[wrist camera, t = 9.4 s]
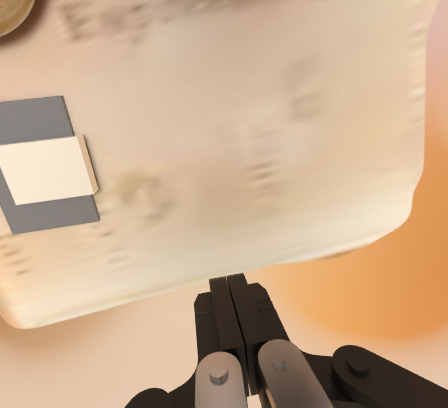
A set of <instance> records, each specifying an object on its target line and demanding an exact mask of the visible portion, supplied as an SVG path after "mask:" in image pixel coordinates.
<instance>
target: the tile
mask: <svg viewBox="0 0 448 408" xmlns="http://www.w3.org/2000/svg"><path fill="white" fill-rule="evenodd" d="M0 168H1V170H2V173H3V175H4V177H5V180H6V182H7V185H8V187H9V189H10V192H11V194H12V197H13V199H14V201H15V204H16V205H21V204H28V203H35V202H43V201H50V200H57V199H64V198H71V197H78V196H85V195H92V194H95V193H96V192H97V190H98V186H97V183H96V179H95V176H94V172H93V169H92V165H91V162H90V158H89V155H88V151H87V148H86V144H85V141H84V137H83V135H75V136H67V137H58V138H50V139H41V140H33V141H24V142H16V143H7V144H1V145H0Z"/></svg>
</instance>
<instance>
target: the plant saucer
mask: <svg viewBox="0 0 448 408" xmlns="http://www.w3.org/2000/svg"><path fill="white" fill-rule="evenodd" d="M34 2H35V0H0V37H1V36H4V35H6V34H8V33H10V32H11V31H13V30H14V29H16V28H17V27H18V26H19V25H20V24H21V23H22V22H23V21H24V20H25V19H26V17H27V16H28V15H29V13H30V11H31V9H32V7H33V5H34Z"/></svg>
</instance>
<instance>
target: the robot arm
mask: <svg viewBox="0 0 448 408" xmlns="http://www.w3.org/2000/svg"><path fill="white" fill-rule="evenodd" d="M209 284H210V290H211V292H206V293H201V294H198V296H197V298H196V300H195V303H194V310H195V323H196V336H197V348H198V365H197V368H196V370H195V372H194V374H193V375H192V377H191V378H190V379H189V380H188V381H187V382H186V383H184V384H183V385H181V386H180V387H178V388H177V389H175V390H173V391H171V392H169V393H167V392H166V391H164V390H162V389H159V388H150V389H147V390H144V391H142V392H140V393H139V394H137V395H136V396H135V397H133V398H132V399H131V401H130V402H129V403H128V404H127V405H126V407H125V408H248V404H247V397H248V396H249V388H250V392H251V395H256V394H258V395H259V398H260V402H261V406H262V408H448V390H447V389H445V388H443V387H441V386H438V385H436V384H434V383H433V382H431V381H428V380H426V379H424V378H423V377H421V376H419V375H417V374H414V373H413V372H410V371H409V370H407V369H405V368H402V367H401V366H399V365H397V364H394V363H393V362H390V361H389V360H386V359H384V358H382V357H380V356H378V355H376V354H374V353H372V352H370V351H368V350H366V349H364V348H362V347H359V346H354V345H345V346H342V347H340V348H338V349H337V350H336V351H335V352H334V354H333V357H331V356H320V355H312V354H308V353H305V352H303V351H301V350H300V349H299V348H298V347H297V346H296V345H294V344H293V343H292V342H291V341H290V339H289V338H288V336H287V333H286V332H285V329H284V327H283V325H282V323H281V321H280V319H279V317H278V314H277V312H276V310H275V309H274V306H273V304H272V302H271V300H270V297H269V295H268V293H267V291H266V289H265V288H263V287H262V286H261V285H260V284H259V283H253V284H247V281H246V279H245V276H244V274H243V273H240V274H234V275H229V276H227V280H226V277H225V276H224V277H219V278H213V279H209ZM248 384H249V388H248Z"/></svg>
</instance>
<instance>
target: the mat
mask: <svg viewBox="0 0 448 408" xmlns="http://www.w3.org/2000/svg"><path fill="white" fill-rule="evenodd" d="M67 136H75V135H74V131H73V128H72V125H71V121H70V118H69V115H68V111H67V108H66V105H65V102H64V98H63V96H54V97H44V98H35V99H25V100H15V101H6V102H0V145H1V144H7V143H16V142H24V141H33V140H41V139H50V138H58V137H67ZM0 206H1V209H2V211H3V213H4V215H5V218H6V220H7V222H8V224H9V227H10V229H11V231H12V233H13V234H19V233H26V232H32V231H39V230H45V229H52V228H58V227H65V226H71V225H78V224H84V223H91V222H97V221H99V220H100V218H99V214H98V211H97V208H96V204H95V201H94V198H93V194H92V195H85V196H78V197H71V198H64V199H57V200H50V201H43V202H35V203H28V204H21V205H16V204H15V201H14V199H13V197H12V194H11V192H10V189H9V187H8V185H7V182H6V180H5V177H4V175H3V173H2V170H1V168H0Z"/></svg>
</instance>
